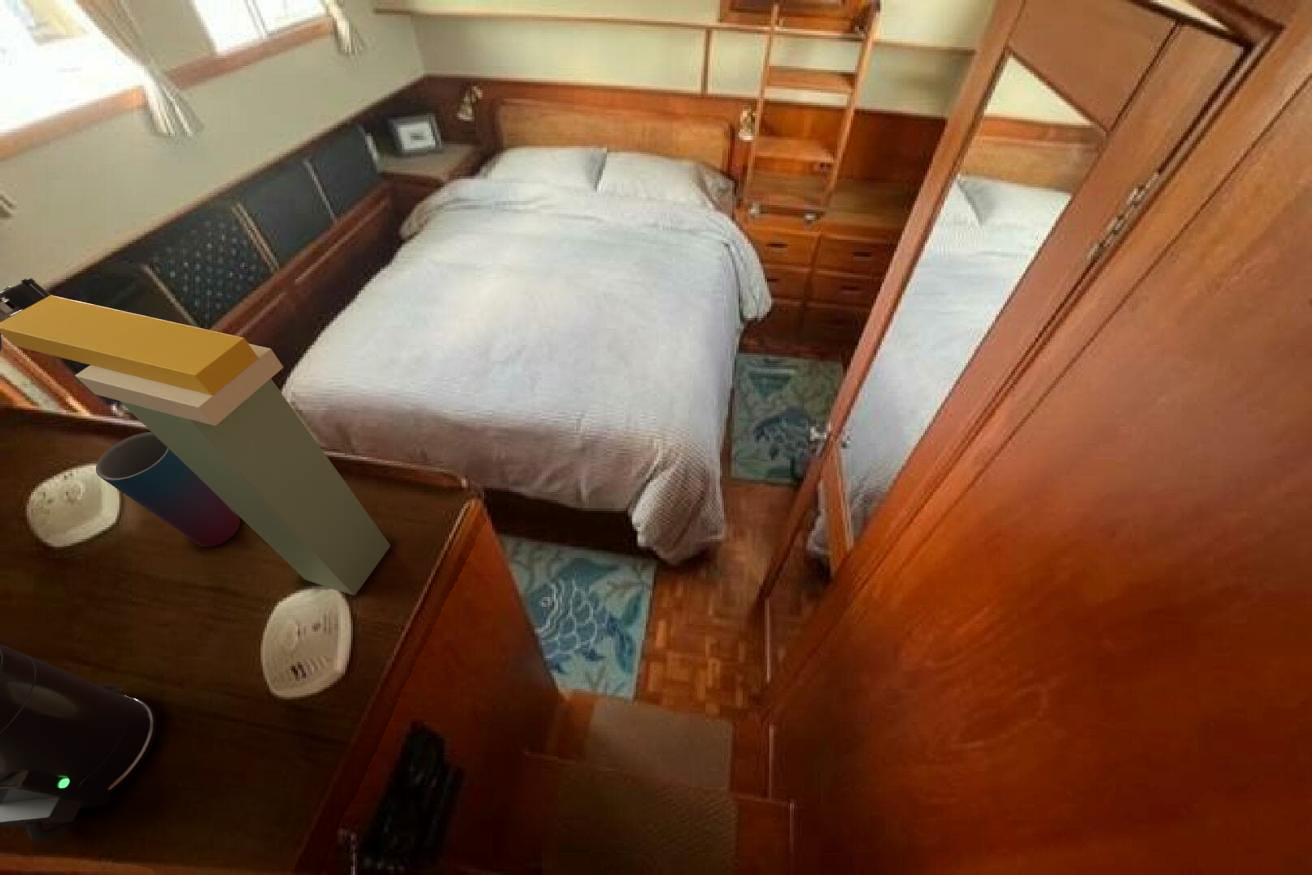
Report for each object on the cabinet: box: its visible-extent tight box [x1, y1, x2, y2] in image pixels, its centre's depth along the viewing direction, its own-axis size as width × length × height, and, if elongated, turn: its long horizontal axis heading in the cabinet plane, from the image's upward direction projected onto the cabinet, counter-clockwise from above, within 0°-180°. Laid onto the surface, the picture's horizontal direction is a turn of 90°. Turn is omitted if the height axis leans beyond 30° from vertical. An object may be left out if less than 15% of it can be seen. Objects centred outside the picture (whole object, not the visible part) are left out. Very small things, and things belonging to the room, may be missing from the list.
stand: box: [74, 343, 391, 597], centre depth 54 cm, size 12×7×32 cm, turn 73°
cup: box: [95, 431, 241, 548], centre depth 64 cm, size 7×7×15 cm
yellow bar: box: [0, 294, 258, 395], centre depth 42 cm, size 20×4×2 cm, turn 73°
